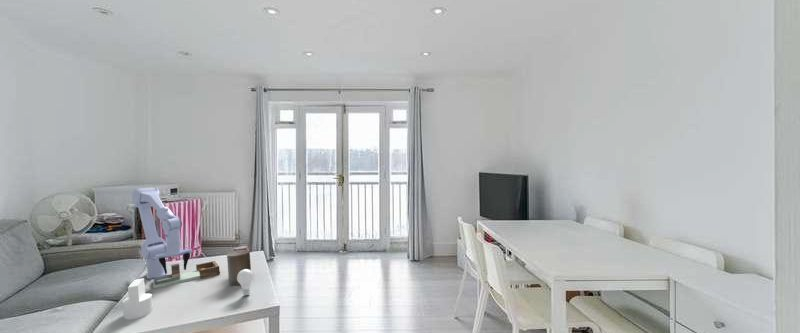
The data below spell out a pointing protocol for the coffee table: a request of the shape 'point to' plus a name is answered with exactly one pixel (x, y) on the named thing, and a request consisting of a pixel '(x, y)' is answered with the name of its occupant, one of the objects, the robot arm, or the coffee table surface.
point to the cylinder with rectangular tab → (137, 301)
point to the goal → (208, 269)
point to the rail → (165, 279)
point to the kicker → (175, 270)
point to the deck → (180, 279)
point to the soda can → (241, 248)
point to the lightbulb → (245, 280)
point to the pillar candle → (237, 264)
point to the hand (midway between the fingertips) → (175, 271)
